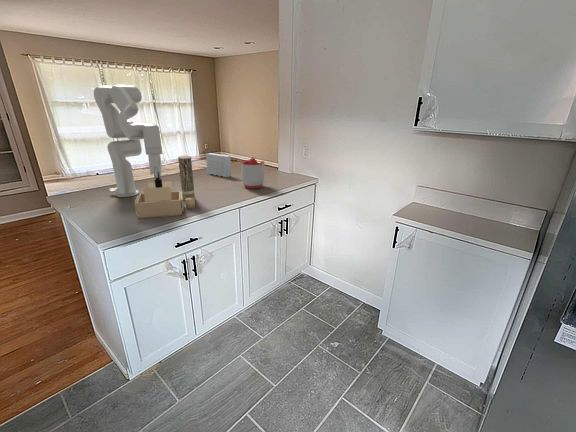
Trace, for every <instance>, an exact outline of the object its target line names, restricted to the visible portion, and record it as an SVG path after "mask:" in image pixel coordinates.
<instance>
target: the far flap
mask: <svg viewBox="0 0 576 432" xmlns="http://www.w3.org/2000/svg"><path fill="white" fill-rule="evenodd" d="M147 187H148V188H156V187H155V181H153V182H151V181H150V182H147ZM162 187H171V192H173V182H172V181H171V180H170V181H162Z"/></svg>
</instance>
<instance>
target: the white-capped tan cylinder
mask: <svg viewBox="0 0 576 432" xmlns="http://www.w3.org/2000/svg"><path fill="white" fill-rule="evenodd" d="M195 201H196V200H195V199H194V198H192V197H190V198H186V199H185V200H184V202H185V209H188V210H189V209H190V210H191V209H194V208H196V202H195Z"/></svg>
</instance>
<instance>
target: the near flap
mask: <svg viewBox="0 0 576 432" xmlns="http://www.w3.org/2000/svg"><path fill="white" fill-rule="evenodd" d="M171 192H172V191H171V187H160V188H144V187H143V193H144V198H145V202H152V201H166V200H172V198H171Z"/></svg>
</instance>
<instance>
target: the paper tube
mask: <svg viewBox="0 0 576 432" xmlns="http://www.w3.org/2000/svg"><path fill="white" fill-rule="evenodd" d="M177 160H178V169H179V177H180V187H181V192H182V196H183V201H185V199H186V198H190V197H192V198H194V199H195V197H196V196H195V195H196V194H195V185H194V176H193V164H192V163H193V162H192V156H191V155H179V156H178V157H177Z"/></svg>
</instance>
